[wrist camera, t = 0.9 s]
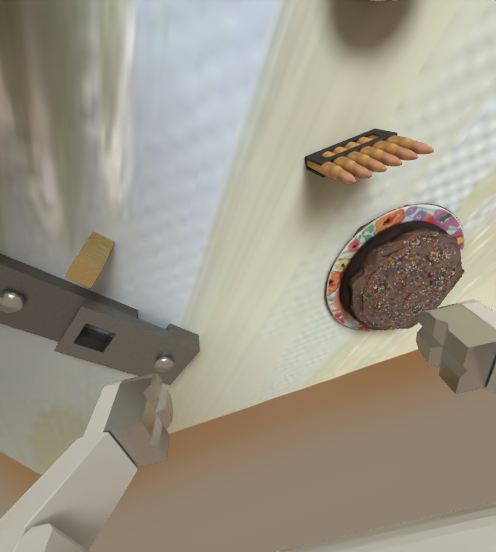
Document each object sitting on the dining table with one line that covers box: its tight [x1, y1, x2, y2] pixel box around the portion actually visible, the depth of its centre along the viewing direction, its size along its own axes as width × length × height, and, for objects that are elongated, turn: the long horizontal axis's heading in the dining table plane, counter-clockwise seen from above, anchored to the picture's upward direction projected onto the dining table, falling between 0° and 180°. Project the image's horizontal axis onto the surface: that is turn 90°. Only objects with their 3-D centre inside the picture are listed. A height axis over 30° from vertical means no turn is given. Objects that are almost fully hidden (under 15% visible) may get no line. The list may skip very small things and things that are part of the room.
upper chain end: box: [54, 298, 200, 385], centre depth 47 cm, size 20×10×5 cm, turn 51°
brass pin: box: [65, 231, 115, 288], centre depth 37 cm, size 3×3×8 cm
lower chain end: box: [0, 254, 138, 344], centre depth 43 cm, size 20×10×3 cm, turn 51°
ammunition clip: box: [305, 129, 434, 184], centre depth 35 cm, size 11×2×12 cm, turn 109°
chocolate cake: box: [326, 204, 464, 331], centre depth 52 cm, size 28×28×7 cm
